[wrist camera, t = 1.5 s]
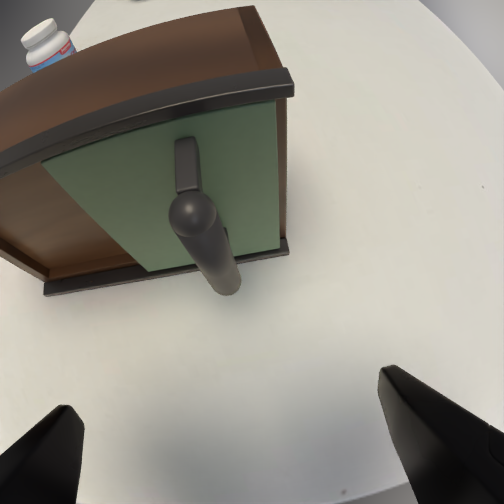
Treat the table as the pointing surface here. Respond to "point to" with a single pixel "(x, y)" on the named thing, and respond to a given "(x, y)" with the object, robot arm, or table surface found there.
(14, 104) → the cupboard
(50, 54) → the pill bottle
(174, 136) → the sliding door
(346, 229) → the table surface
